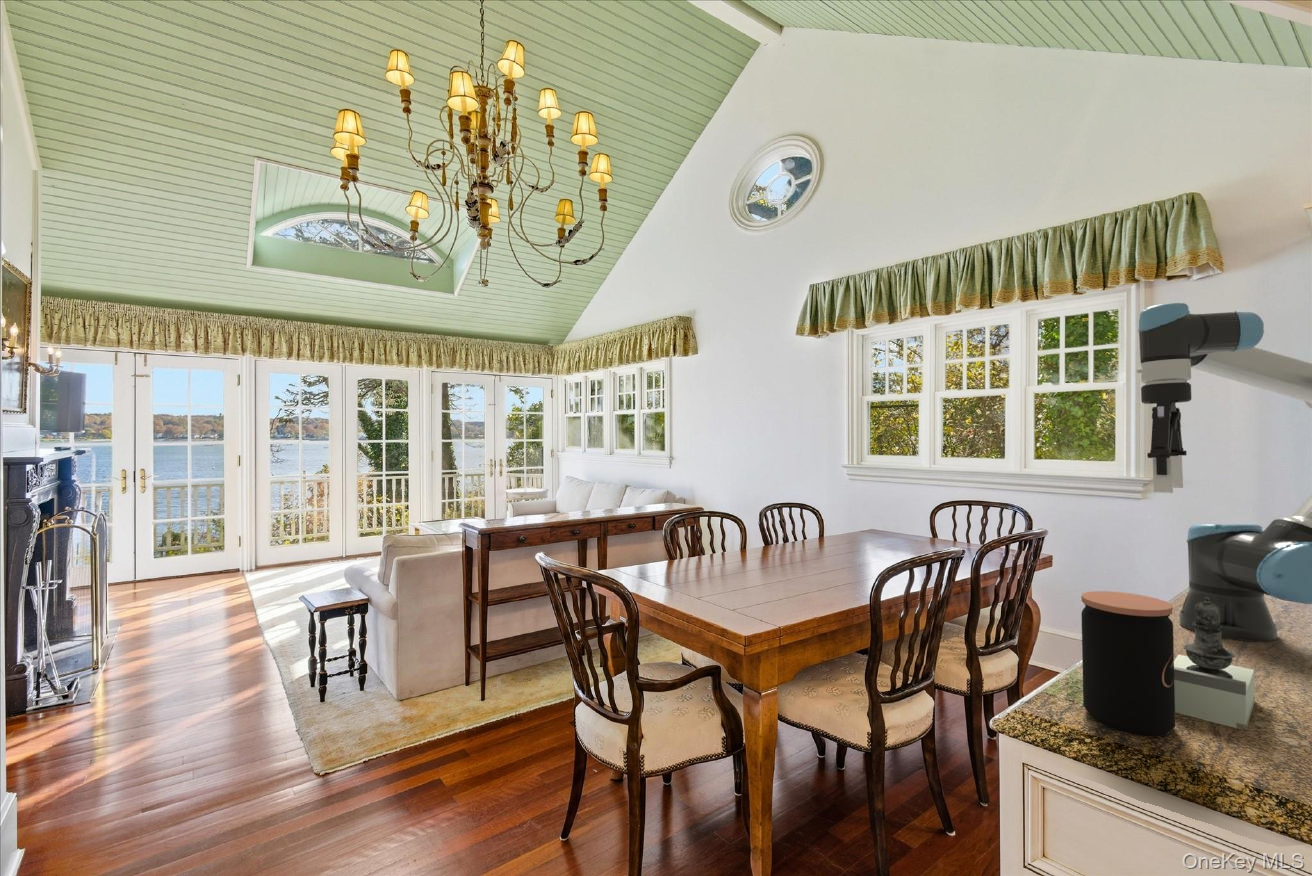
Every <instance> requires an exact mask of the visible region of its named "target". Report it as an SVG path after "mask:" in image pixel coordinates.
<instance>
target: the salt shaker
mask: <svg viewBox="0 0 1312 876" xmlns="http://www.w3.org/2000/svg"><path fill="white" fill-rule="evenodd" d="M1209 600H1210V599H1209V598H1208V597H1205V601H1203V602H1200V603H1197V604H1196V605H1195V622H1194V623H1192V625H1193V626H1195V631H1194V639H1193V642H1191V643H1186V644H1184V645H1183V646H1182V647H1183V649H1184V650H1185V653H1186V656H1188V658H1189V659H1190V660H1191V661H1192V662H1193V663H1194V664H1196V665H1192V666H1189V667H1187V668H1186V669H1187V670H1192V671H1196V672H1201V673H1206V674H1210V675H1215V676H1220V677H1225V678H1229V679H1232V678H1233V677H1232V675H1231V674H1229V673H1228V672H1226V671H1224V670H1222V669H1225V668H1227V667H1228V666H1229V665H1232V662H1233V658H1235V657H1236V655H1235V653H1234V652H1233V651H1232V650H1231V651H1230V650H1228V649H1226V648H1225V647H1224V645H1223V641H1222V639H1223V638H1222V636H1221V631H1222V630H1224V628H1223V627H1222V626H1221V623H1220V608H1219V607H1218V606H1217V605H1215V604H1213V603H1211V602H1209Z"/></svg>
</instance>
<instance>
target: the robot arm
mask: <svg viewBox="0 0 1312 876" xmlns="http://www.w3.org/2000/svg"><path fill="white" fill-rule="evenodd" d="M1264 326H1265V324H1264V321H1263V320H1262V318H1261V316H1260V315H1258V313H1255V312H1250V311H1232V312H1231V311H1229V312H1216V313H1215V312H1214V313H1191V312H1190V310H1189V305H1188V304H1187V303H1184V302H1183V303H1182V302H1172V303H1171V302H1170V303H1162V304H1161V303H1160V304H1156V305H1151V306H1149V307H1146V308H1144V309H1142V310H1141V311H1140V314H1139V319H1138V331H1137V333H1138V336H1139V338H1138V339H1139V340H1138V341H1139V360H1140V367H1141V368H1137V370H1136V373H1137V374H1140V380H1141V381H1140V382H1141V383H1142V384H1145V385H1142V386H1141V387H1140V397H1141V398H1140V399H1141V400H1140V401H1141V403H1142V404H1144V405H1153V404H1154V405H1155V406H1152V408H1151V412H1152V413H1151V419H1152V423H1151V441H1150V442H1151V443H1150V451H1149V452H1147V458H1148V459H1152V477H1153V483H1152V484H1153V493H1163V494H1165V493H1166V494H1167V493H1170V494H1173V493H1174V488H1177V489H1183V488H1184V483H1183V482H1184V477H1183V476H1184V475H1183V474H1184V473H1183V456H1185V457H1186V456H1187V450H1184V448H1183V440H1182V429H1181V428H1182V424H1181V419H1182V413H1181V411H1180V408H1179V407H1177V406H1176V403H1177V404H1178V403H1188V402H1190V401H1192V384H1191V383H1190V382H1188V381H1190V380H1191V379H1192V369H1194V370H1195V369H1196V370H1197V371H1198V370H1199V371H1202V372H1205V373H1208V374H1210V375H1211V374H1212V375H1215V376H1219V377H1222V378H1224V379H1225V378H1226V379H1229V380H1232V381H1235V382H1238V383H1241V384H1246V385H1248V386H1251V387H1255V388H1259V389H1263V390H1266V391H1268V392H1269V391H1270V392H1272V393H1275V394H1276V393H1277V394H1279V395H1283V396H1286V397H1289V398H1291V399H1292V398H1293V399H1296V400H1299V401H1303V402H1304V403H1305V405H1306V406H1307V407H1308V408H1310V409H1312V362H1308V361H1304V360H1301V359H1298V358H1294V357H1291V356H1287V355H1283V354H1279V353H1277V352H1273V351H1270V350H1265V349H1262V348H1258V347H1256V346H1257V345H1258V344H1259V343H1260V342H1261V340H1263V337H1264V333H1265V330H1264V329H1265V327H1264ZM1186 543H1187V554H1188V555H1187V558H1188V559H1187V560H1188V592H1187V595H1186V597H1185V599H1184V602H1183V604H1182V608H1181V610H1179V615H1178V617H1179V618H1178V619H1179V621H1178V623H1179V625H1181V626H1182V627H1183V628H1186V629H1188V630H1190V631H1194V632H1195V626H1193V625H1192V623H1194V622H1195V605H1196V604H1197V603H1200V602H1203V601H1205V597H1208V598H1209V599H1210V600H1209V602H1211V603H1213V604H1215V605H1217V606H1218V607H1219V608H1220V623H1221V626H1222V627H1223V628H1224V630H1222V631H1221V636H1222V639H1223V638H1224V639H1230V640H1236V641H1237V640H1238V641H1247V642H1272V641H1275V640H1277V639H1278V627H1277V624H1275V622H1274V620H1273V617H1272V615H1271V612H1270V610H1269V607H1268V605H1267V602H1266V600H1265V595H1267V596H1271V597H1272V598H1275V599H1278V600H1280V601H1286V602H1292V603H1298V604H1303V605H1312V493H1311V494H1309V496H1308V497H1307V498H1306V499H1305V501H1304V502H1302V504H1301V505H1300V506H1298V508H1297V509H1296V511H1294V512H1293V513H1292V515H1291V516H1289V517H1288V516H1287V517H1276V518H1275V519H1273V520H1272V521H1271V523H1270V524H1268V525H1267V526H1266V528H1265V529H1264V530H1263V527H1262V526H1261V525H1259V524H1237V523H1235V524H1225V523H1224V524H1221V523H1220V524H1216V523H1214V524H1213V523H1208V524H1207V523H1203V524H1202V523H1195V524H1192V525H1190V527H1189V528H1188V533H1187V540H1186Z"/></svg>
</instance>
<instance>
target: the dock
mask: <svg viewBox="0 0 1312 876" xmlns="http://www.w3.org/2000/svg"><path fill="white" fill-rule="evenodd" d="M1192 665H1196V664H1194V663H1193V662H1192V661H1191V660H1190V659H1189V658H1188V656H1187V655H1184V654H1183V655H1182V654H1177V656H1176V657H1175V659H1174V687H1175V714H1180V715H1184V716H1187V717H1192V718H1194V719H1195V718H1196V719H1199V720H1204V721H1206V722H1211V723H1215V724H1219V725H1223V726H1225V727H1230V728H1235V729H1239V730H1242V731H1245V732H1246V731H1247V730H1248V726H1249V723H1250V719H1251V715H1252V713H1253V708H1254V705H1255V702H1256V695H1255V693H1256V692H1255V691H1256V690H1255V669H1251V668H1247V667H1243V666H1238V665H1233V664H1230V665H1229V666H1228V667H1227V668H1225V669H1222V670H1224V671H1226V672H1228V673H1229V674H1231V675H1232V677H1233V678H1232V679H1229V678H1225V677H1220V676H1215V675H1210V674H1206V673H1201V672H1196V671H1192V670H1187V669H1186V668H1187V667H1189V666H1192Z"/></svg>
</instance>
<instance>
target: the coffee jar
mask: <svg viewBox="0 0 1312 876" xmlns="http://www.w3.org/2000/svg"><path fill="white" fill-rule="evenodd" d="M1080 598H1081V602H1082V603H1083V605H1084V607H1083V608H1082V611H1081V653H1082V654H1081V655H1082V657H1081V658H1082V660H1081V661H1082V663H1081V665H1082V701H1083V702H1082V705H1083V707H1084V709H1085V711H1086V712H1087V714H1088V715H1089V716H1090V717H1091V719H1093V720H1094V721H1095V722H1097V723H1098V724H1099V725H1102V726H1104V727H1107V728H1108V729H1112V730H1114V731H1117V732H1119V733H1120V732H1121V733H1124V734H1128V735H1133V736H1138V735H1140V737H1144V736H1145V737H1146V738H1147V737H1148V738H1159V737H1165V736H1167V735H1168V734H1170V732H1171V731H1172V730H1174V729H1175V727H1176V713H1175V687H1174V660H1175V659H1174V658H1175V657H1174V656H1175V651H1174V649H1175V646H1174V644H1175V643H1174V623H1173V621H1172V620H1171V618H1170V616H1171V615H1172V614H1173V610H1174V609H1173V604H1171V603H1169V602H1168V601H1165V600H1163V599H1159V598H1157V597H1156V598H1155V597H1152V596H1148V595H1142V594H1137V593H1132V592H1131V593H1129V592H1124V591H1123V592H1122V591H1109V590H1107V591H1106V590H1104V591H1103V590H1101V591H1100V590H1096V591H1095V590H1094V591H1085V592H1084V593H1081V597H1080Z"/></svg>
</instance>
